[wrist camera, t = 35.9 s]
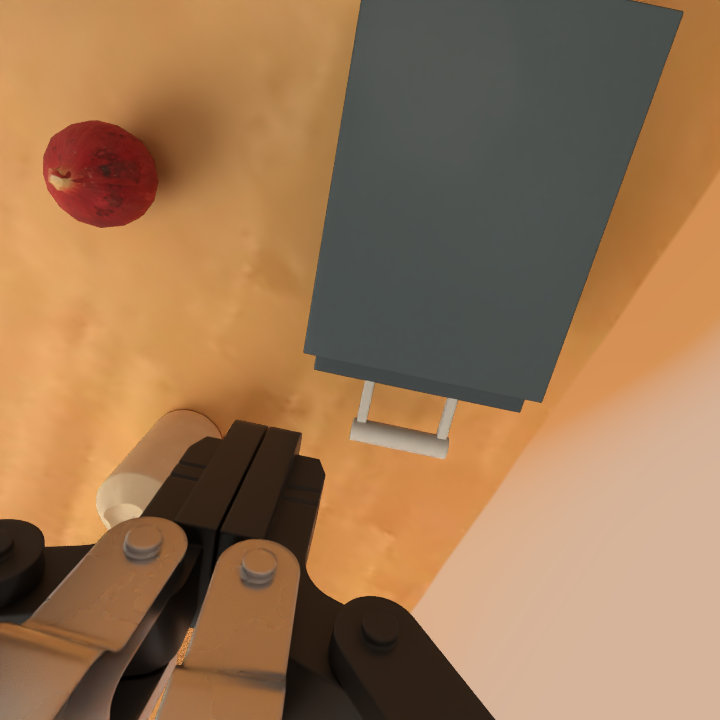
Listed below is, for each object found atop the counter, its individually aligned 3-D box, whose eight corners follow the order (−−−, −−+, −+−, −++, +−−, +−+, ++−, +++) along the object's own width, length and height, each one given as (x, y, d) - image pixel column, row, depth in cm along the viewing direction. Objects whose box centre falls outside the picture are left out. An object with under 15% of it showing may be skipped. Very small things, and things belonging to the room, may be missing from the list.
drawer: (476, 426, 38) (492, 493, 31) (318, 393, 38) (298, 452, 31) (582, 90, 30) (638, 75, 23) (381, 48, 30) (374, 19, 23)
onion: (164, 117, 33) (96, 110, 26) (186, 213, 35) (128, 232, 28) (76, 129, 34) (-16, 125, 26) (103, 222, 36) (24, 244, 29)
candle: (205, 482, 43) (151, 575, 34) (143, 449, 42) (70, 534, 33) (235, 431, 41) (186, 515, 32) (170, 396, 41) (101, 471, 31)
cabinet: (509, 340, 37) (542, 403, 28) (327, 302, 37) (302, 353, 28) (602, 48, 30) (685, 10, 21) (380, 2, 30) (369, -56, 21)
